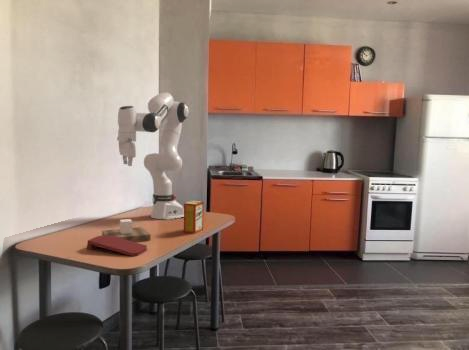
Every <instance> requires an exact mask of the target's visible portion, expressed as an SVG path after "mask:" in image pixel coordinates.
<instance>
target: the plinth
mask: <svg viewBox="0 0 469 350" xmlns="http://www.w3.org/2000/svg"><path fill="white" fill-rule="evenodd" d="M101 235H111V236H115V237H118V238H122V239H125V240H129V241H132V242H136V243H140V242H148V241H151V237H152V236H151V233H149V232H148V231H147V230H146V229H145V228H144V227H142V226H141V227H132V233H129V234H121V232H120V228H116V229H105V230H101Z"/></svg>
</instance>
